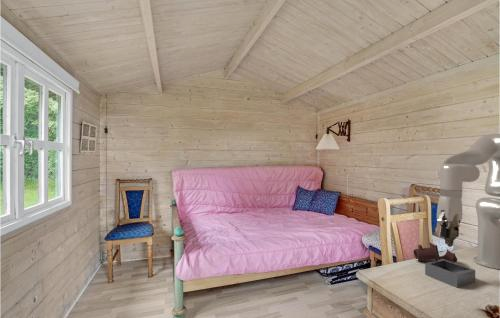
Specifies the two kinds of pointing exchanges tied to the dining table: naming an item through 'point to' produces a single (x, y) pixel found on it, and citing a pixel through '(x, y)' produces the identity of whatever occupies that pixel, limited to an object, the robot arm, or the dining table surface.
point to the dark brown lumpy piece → (433, 253)
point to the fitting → (450, 273)
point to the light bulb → (452, 231)
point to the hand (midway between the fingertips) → (449, 236)
